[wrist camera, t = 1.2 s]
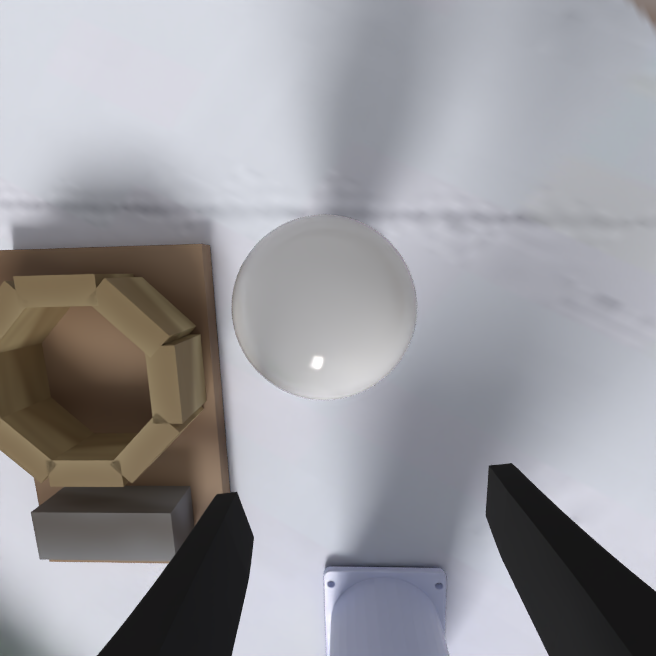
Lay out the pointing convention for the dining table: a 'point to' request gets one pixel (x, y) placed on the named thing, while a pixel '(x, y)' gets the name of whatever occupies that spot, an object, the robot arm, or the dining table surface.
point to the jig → (112, 396)
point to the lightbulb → (324, 307)
